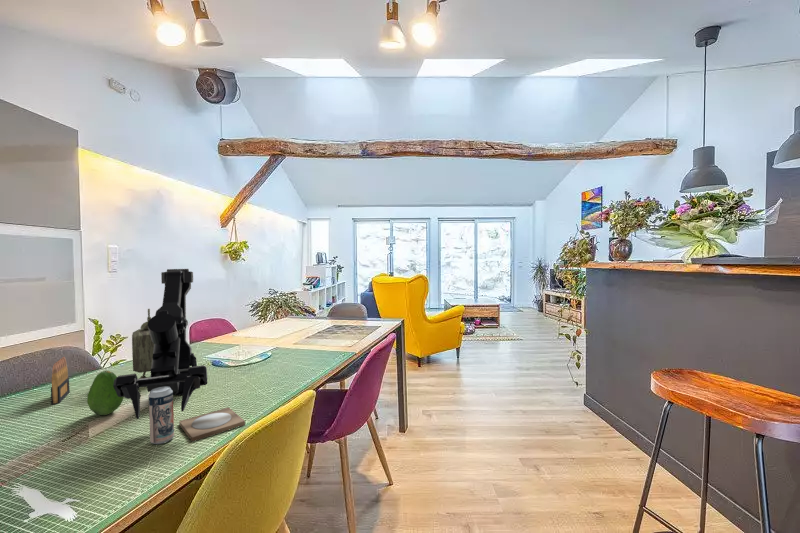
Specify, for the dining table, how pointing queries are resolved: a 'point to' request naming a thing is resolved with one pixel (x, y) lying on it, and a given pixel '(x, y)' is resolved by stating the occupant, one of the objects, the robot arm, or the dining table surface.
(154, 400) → the beer can
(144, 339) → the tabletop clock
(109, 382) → the avocado
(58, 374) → the ammunition clip
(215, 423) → the plate
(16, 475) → the dining table surface
